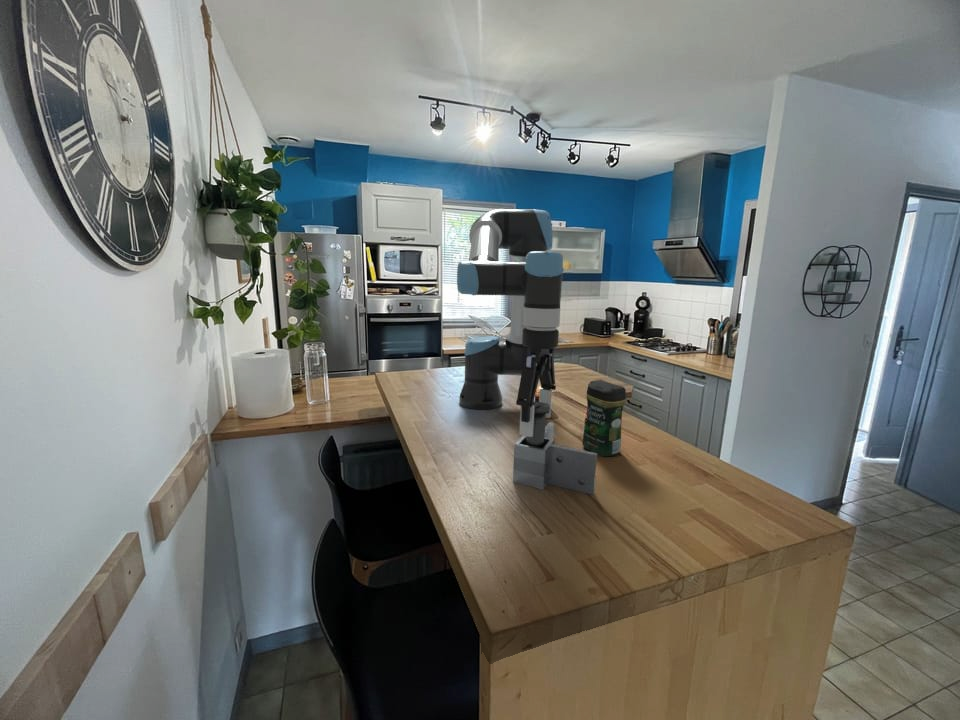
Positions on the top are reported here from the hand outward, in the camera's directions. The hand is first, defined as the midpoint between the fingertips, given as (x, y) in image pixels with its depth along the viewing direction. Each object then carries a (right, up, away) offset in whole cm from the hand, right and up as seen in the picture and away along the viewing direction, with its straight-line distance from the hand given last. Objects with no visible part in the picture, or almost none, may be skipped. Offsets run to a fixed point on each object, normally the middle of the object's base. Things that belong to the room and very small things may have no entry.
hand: (535, 425), depth 91 cm
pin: (0, -12, +3) cm, 13 cm away
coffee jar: (+20, -10, +19) cm, 29 cm away
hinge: (+6, -12, +5) cm, 15 cm away
